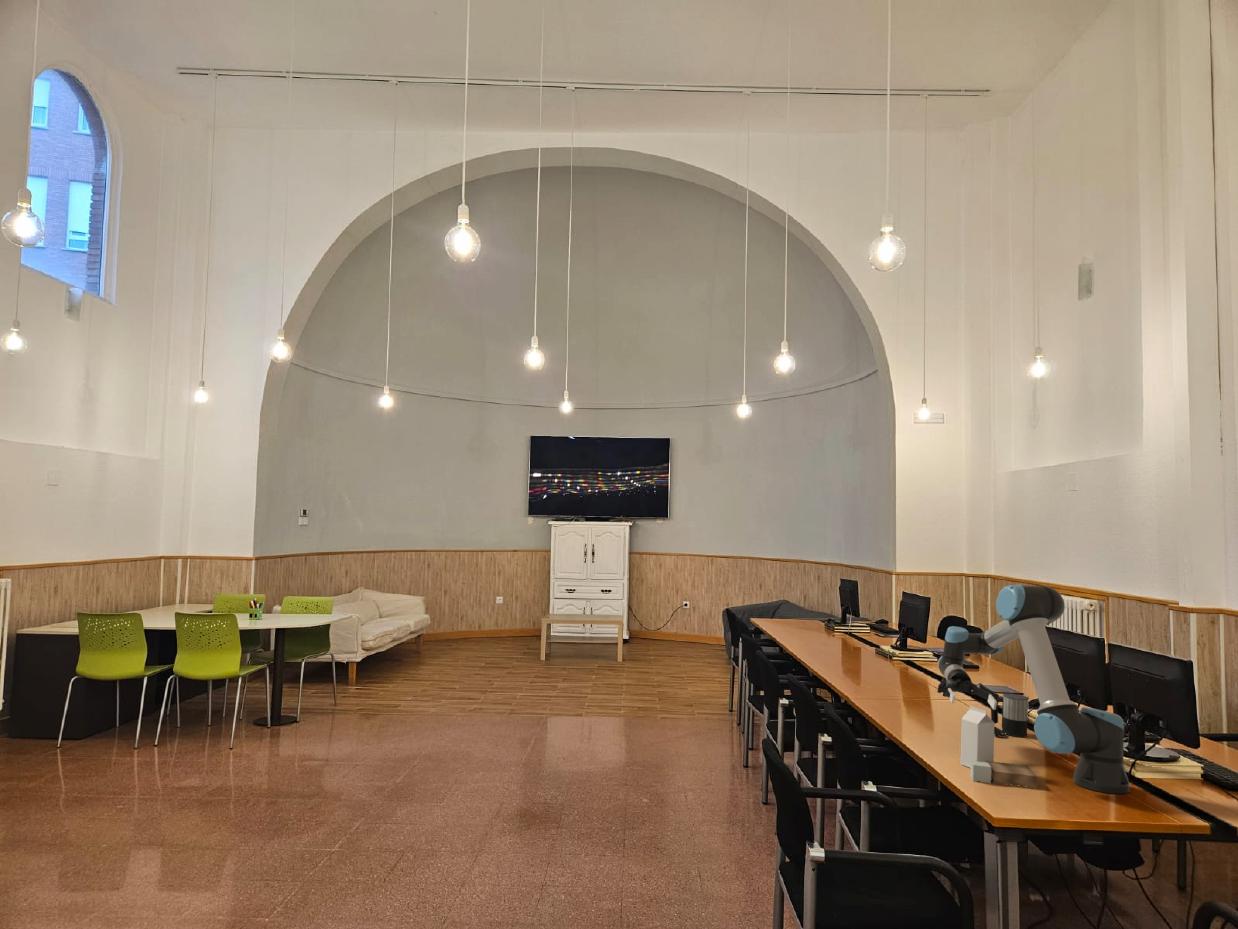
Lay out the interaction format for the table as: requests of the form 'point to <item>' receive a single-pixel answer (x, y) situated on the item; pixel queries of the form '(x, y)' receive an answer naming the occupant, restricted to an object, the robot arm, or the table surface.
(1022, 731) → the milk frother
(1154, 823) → the table surface
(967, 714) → the milk carton
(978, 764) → the grey cube
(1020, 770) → the walnut block
